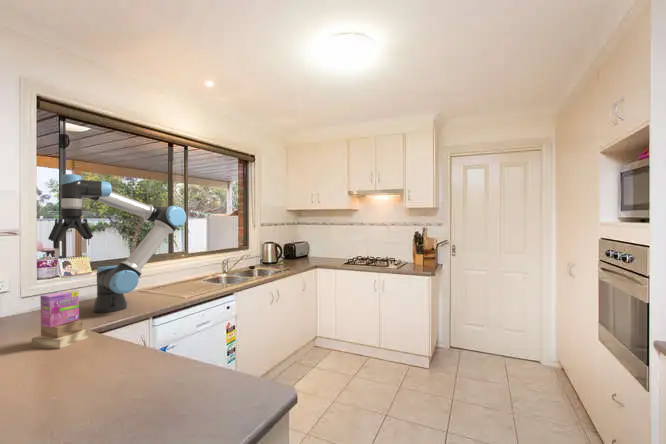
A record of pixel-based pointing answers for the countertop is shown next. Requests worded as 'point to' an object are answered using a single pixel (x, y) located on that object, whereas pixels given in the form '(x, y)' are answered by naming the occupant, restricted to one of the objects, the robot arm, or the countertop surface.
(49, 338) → the tower base
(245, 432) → the countertop surface
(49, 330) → the tower top
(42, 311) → the box
